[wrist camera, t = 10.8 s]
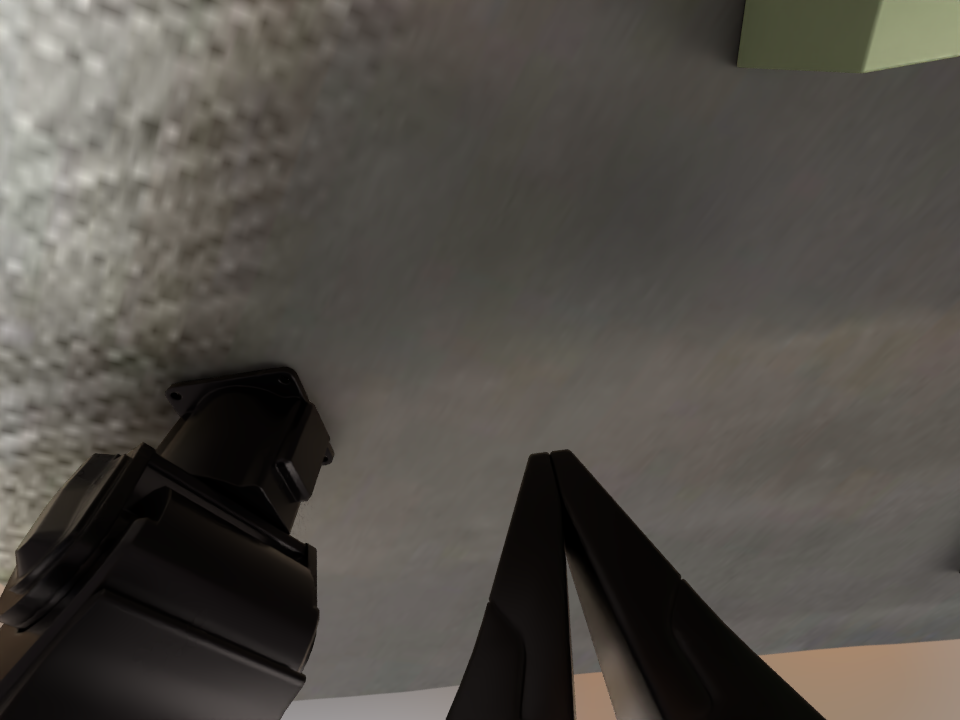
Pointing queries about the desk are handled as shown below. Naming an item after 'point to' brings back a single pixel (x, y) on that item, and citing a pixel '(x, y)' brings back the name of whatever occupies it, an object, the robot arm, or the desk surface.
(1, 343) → the desk surface
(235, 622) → the robot arm
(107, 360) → the desk surface
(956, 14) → the green push button box
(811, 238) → the desk surface
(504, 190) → the desk surface
